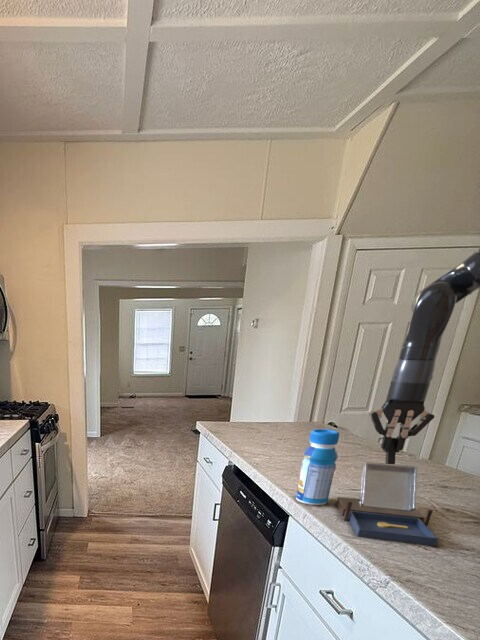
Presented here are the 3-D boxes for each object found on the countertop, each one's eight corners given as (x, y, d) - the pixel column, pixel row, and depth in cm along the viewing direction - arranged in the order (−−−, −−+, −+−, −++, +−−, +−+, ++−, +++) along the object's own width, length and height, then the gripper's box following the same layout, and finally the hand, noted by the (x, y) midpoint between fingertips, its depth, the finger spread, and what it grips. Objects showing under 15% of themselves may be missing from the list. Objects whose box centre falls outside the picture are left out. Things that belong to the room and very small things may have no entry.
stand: (409, 511, 107) (415, 493, 105) (426, 530, 96) (433, 510, 94) (335, 503, 113) (339, 486, 111) (344, 520, 102) (348, 501, 100)
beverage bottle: (314, 508, 110) (329, 435, 102) (288, 498, 117) (300, 430, 109) (334, 503, 113) (350, 432, 105) (308, 494, 120) (321, 427, 112)
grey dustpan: (414, 443, 102) (419, 439, 99) (411, 511, 98) (415, 509, 96) (364, 440, 105) (367, 436, 103) (359, 506, 102) (362, 503, 100)
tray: (416, 525, 99) (419, 518, 98) (435, 546, 88) (438, 538, 88) (347, 517, 104) (349, 510, 103) (357, 536, 93) (359, 529, 93)
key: (378, 526, 97) (378, 525, 97) (375, 522, 99) (376, 521, 99) (408, 530, 95) (409, 528, 95) (405, 526, 97) (406, 524, 97)
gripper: (440, 378, 95) (417, 449, 102) (373, 377, 100) (356, 446, 107) (453, 382, 89) (428, 457, 96) (381, 380, 94) (362, 453, 100)
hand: (390, 451), depth 101 cm, fingers closed on grey dustpan
